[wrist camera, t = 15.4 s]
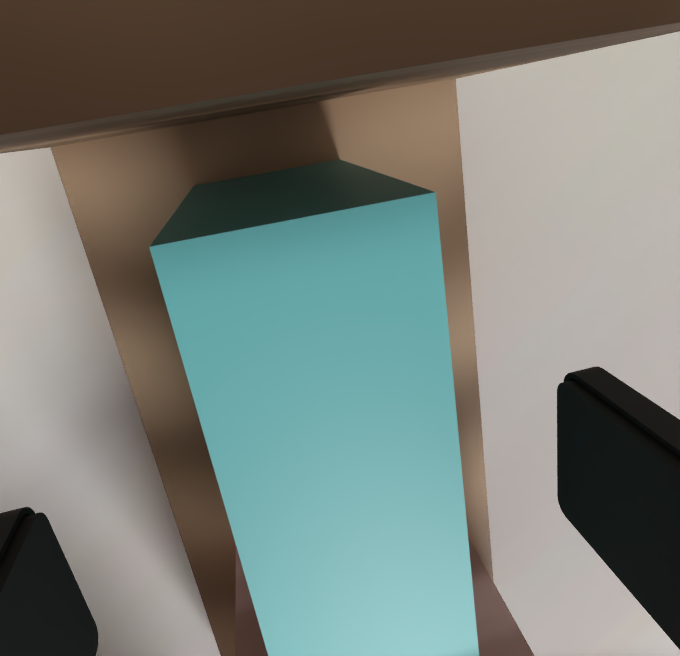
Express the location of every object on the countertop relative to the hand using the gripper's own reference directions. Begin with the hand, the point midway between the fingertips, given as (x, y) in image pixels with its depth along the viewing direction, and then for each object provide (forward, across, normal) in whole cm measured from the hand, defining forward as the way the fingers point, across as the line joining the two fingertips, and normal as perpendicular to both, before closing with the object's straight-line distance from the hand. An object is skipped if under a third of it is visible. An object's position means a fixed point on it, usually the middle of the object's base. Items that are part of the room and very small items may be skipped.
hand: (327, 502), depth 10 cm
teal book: (+9, -1, +1) cm, 9 cm away
